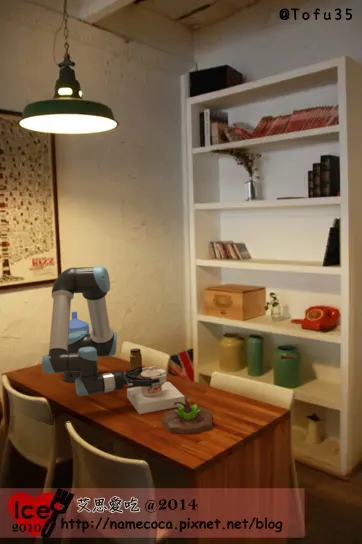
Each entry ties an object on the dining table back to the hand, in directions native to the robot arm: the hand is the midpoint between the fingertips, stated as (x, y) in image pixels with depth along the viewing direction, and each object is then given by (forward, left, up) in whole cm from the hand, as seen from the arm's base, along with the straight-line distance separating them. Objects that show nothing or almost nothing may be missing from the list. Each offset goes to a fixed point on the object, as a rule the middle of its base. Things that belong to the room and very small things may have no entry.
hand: (161, 373), depth 208 cm
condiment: (-42, +1, -12) cm, 44 cm away
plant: (+26, +2, -13) cm, 29 cm away
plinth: (0, -3, -12) cm, 12 cm away
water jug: (-78, -25, -12) cm, 83 cm away
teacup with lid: (0, -3, -8) cm, 9 cm away
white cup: (-18, +5, -12) cm, 22 cm away
